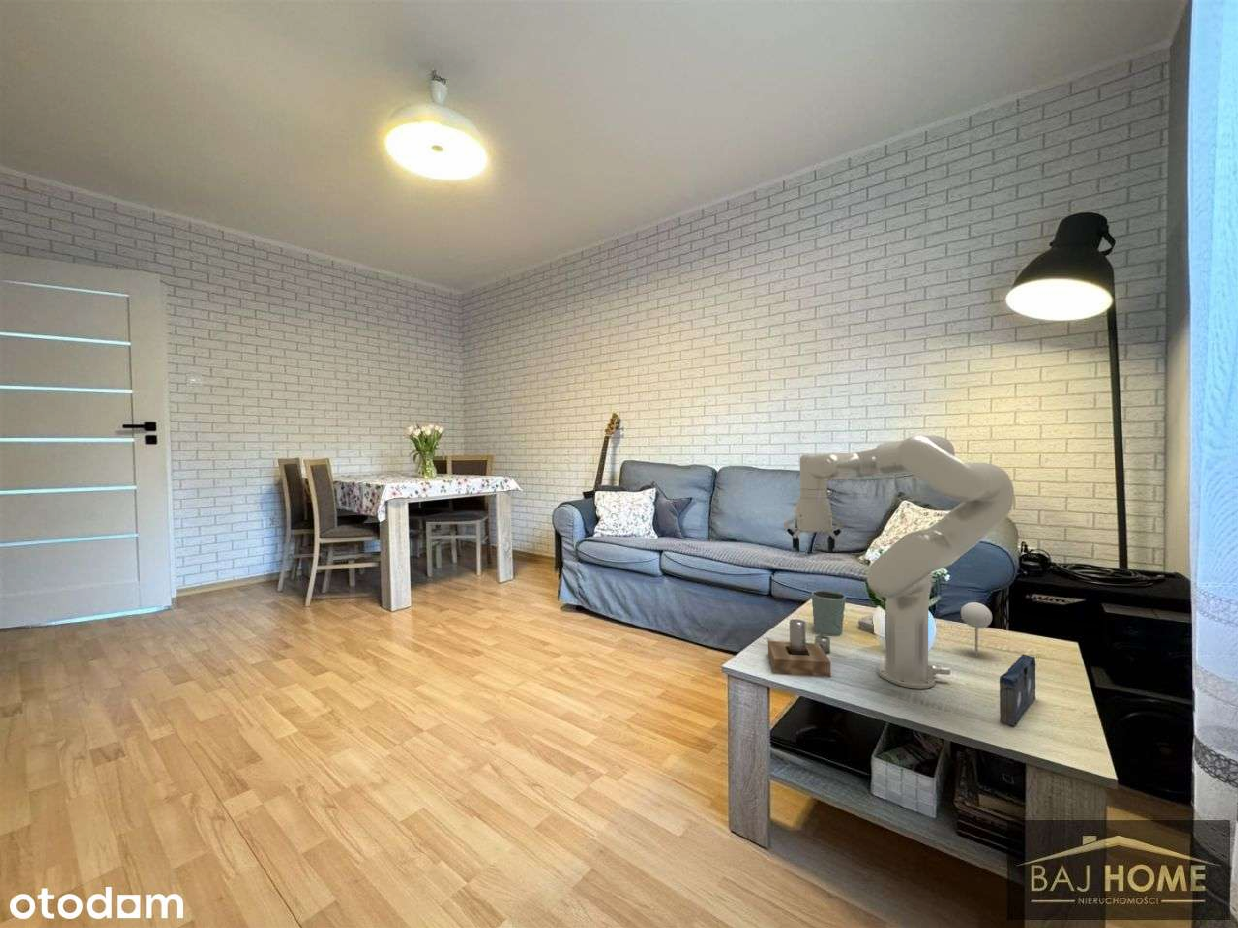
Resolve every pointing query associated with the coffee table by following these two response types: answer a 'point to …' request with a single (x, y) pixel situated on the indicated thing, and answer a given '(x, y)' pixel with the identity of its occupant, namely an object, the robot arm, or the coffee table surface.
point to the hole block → (798, 660)
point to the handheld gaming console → (866, 624)
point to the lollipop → (976, 618)
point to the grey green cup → (828, 612)
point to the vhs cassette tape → (1017, 690)
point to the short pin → (823, 643)
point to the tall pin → (797, 637)
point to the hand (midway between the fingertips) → (813, 550)
